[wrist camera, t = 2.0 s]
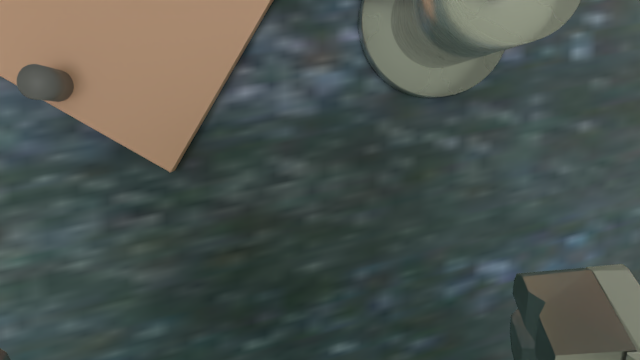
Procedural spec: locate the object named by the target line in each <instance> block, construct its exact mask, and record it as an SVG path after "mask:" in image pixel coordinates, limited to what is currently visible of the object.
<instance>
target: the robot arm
mask: <svg viewBox="0 0 640 360" xmlns="http://www.w3.org/2000/svg"><path fill="white" fill-rule="evenodd" d="M513 296H514V299H515V301H516V304H517V307H518V309H517V310H516V311H515V312H514V313H513V314H512V315H511V320H510V339H511V350H512V354H513V358H514V360H640V285H639V284H638V282H637V281H636V279H635V278H634V276H633V275H632V273H631V272H630V270H629V269H628V268H627V267H625V266H624V265H622V264H617V265H606V266H595V267H586V268H577V269H565V270H553V271H542V272H530V273H518V274H516V277H515V280H514V286H513ZM0 360H10V358H9V356H8V354H7V352H5V351H4V350H2V349H0Z"/></svg>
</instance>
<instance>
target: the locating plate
mask: <svg viewBox="0 0 640 360" xmlns="http://www.w3.org/2000/svg"><path fill="white" fill-rule="evenodd" d="M272 2H273V0H0V76H1V77H3V78H5V79H6V80H8V81H10V82H12V83H14V84H15V85H17V86H18V89H19V91H20V92H21V93H22V94H23V95H24V96H26V97H27V98H30V99H35V100H44V101H45V102H47V103H49V104H51V105H52V106H54V107H56V108H58V109H59V110H61V111H63V112H65V113H66V114H68V115H70V116H72V117H74V118H75V119H77V120H79V121H81V122H82V123H84V124H86V125H88V126H89V127H91V128H93V129H95V130H96V131H98V132H100V133H102V134H104V135H105V136H107V137H109V138H111V139H112V140H114V141H116V142H118V143H119V144H121V145H123V146H125V147H126V148H128V149H130V150H132V151H134V152H135V153H137V154H139V155H141V156H142V157H144V158H146V159H148V160H149V161H151V162H153V163H155V164H157V165H158V166H160V167H162V168H164V169H165V170H167V171H169V172H172V171H174V170H175V169H176V167H177V166H178V164H179V162H180V160H181V159H182V157H183V155H184V154H185V152H186V150H187V148H188V147H189V145H190V143H191V141H192V140H193V138H194V136H195V135H196V133H197V131H198V129H199V128H200V126H201V124H202V123H203V121H204V119H205V117H206V116H207V114H208V112H209V110H210V109H211V107H212V105H213V104H214V102H215V100H216V98H217V97H218V95H219V93H220V91H221V90H222V88H223V86H224V85H225V83H226V81H227V79H228V78H229V76H230V74H231V73H232V71H233V69H234V67H235V66H236V64H237V62H238V60H239V59H240V57H241V55H242V54H243V52H244V50H245V48H246V47H247V45H248V43H249V42H250V40H251V38H252V36H253V35H254V33H255V31H256V29H257V28H258V26H259V24H260V23H261V21H262V19H263V17H264V16H265V14H266V12H267V11H268V9H269V7H270V5H271V4H272Z"/></svg>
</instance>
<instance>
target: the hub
mask: <svg viewBox="0 0 640 360" xmlns="http://www.w3.org/2000/svg"><path fill="white" fill-rule="evenodd" d="M580 1H581V0H362V2H361V6H360V11H359V19H358V30H359V38H360V43H361V46H362V49H363V52H364V54H365V57H366V59H367V61H368V62H369V64H370V65H371V67H372V69H373V70H374V71H375V72H376V73H377V75H378V76H379V77H380V78H381V79H382V80H383V81H385V82H386V83H387V84H389V85H390V86H391V87H393V88H395V89H397V90H398V91H400V92H403V93H406V94H408V95H412V96H416V97H424V98H433V97H443V96H448V95H454V94H457V93H460V92H463V91H465V90H467V89H469V88H471V87H473V86H475V85H476V84H478V83H479V82H481V81H482V80H483V79H484V78H485V77H486V76H487V75H488V74H489V73H490V72H491V71H492V70H493V69H494V68H495V66H496V65H497V63H498V62H499V60H500V58H501V56H502V55H503V53H504V50H505V49H509V48H512V47H515V46H519V45H522V44H525V43H529V42H532V41H535V40H538V39H541V38H544V37H546V36H548V35H550V34H552V33H553V32H555V31H556V30H558V29H559V28H560V27H561V26H563V25H564V24H565V23H566V22H567V21H568V19H569V18H570V17H571V16H572V15H573V13H574V12H575V10H576V9H577V7H578V5H579V3H580Z"/></svg>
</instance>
